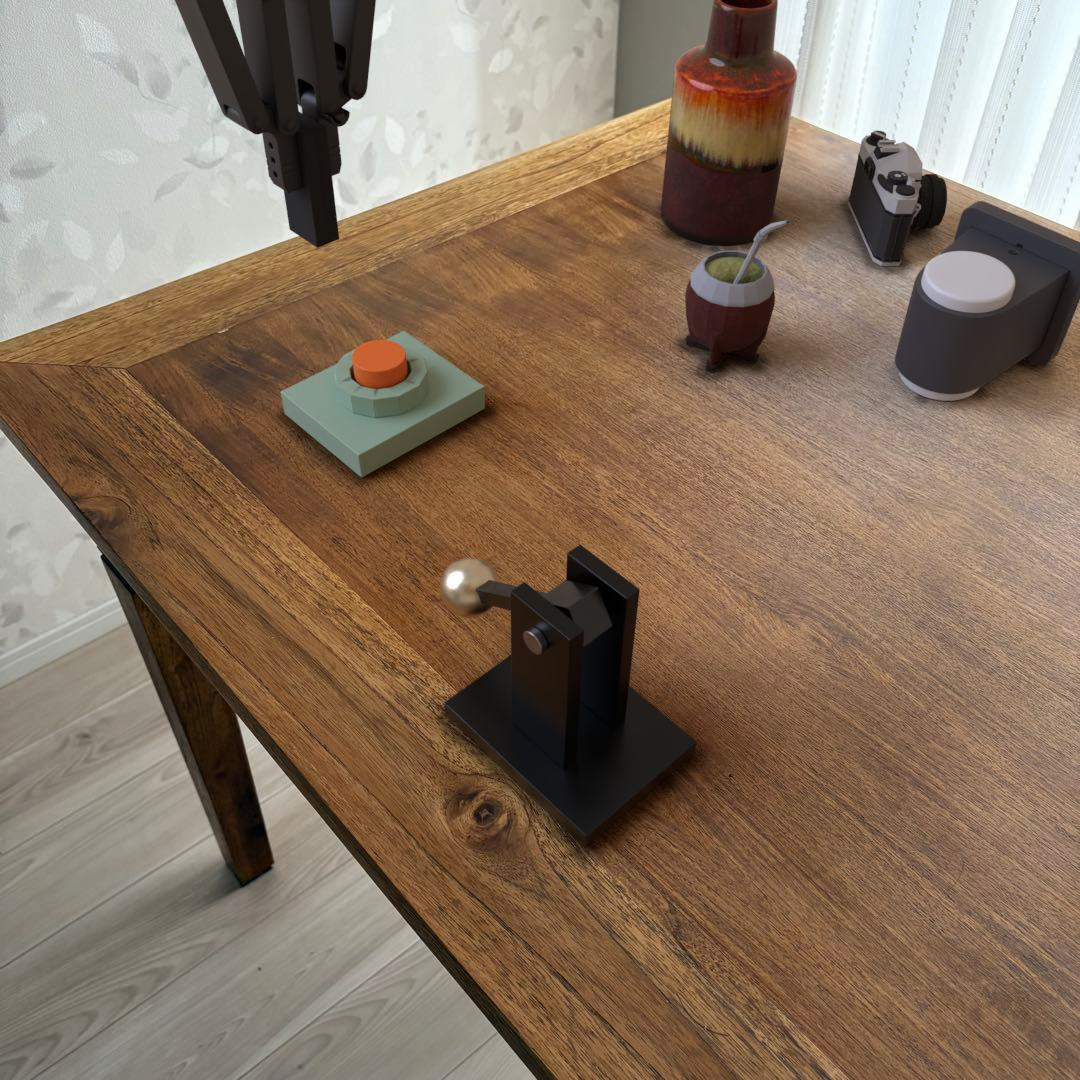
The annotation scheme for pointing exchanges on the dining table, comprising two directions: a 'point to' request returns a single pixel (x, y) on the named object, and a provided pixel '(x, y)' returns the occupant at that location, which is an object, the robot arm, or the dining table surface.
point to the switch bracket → (572, 709)
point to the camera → (893, 197)
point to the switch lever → (478, 590)
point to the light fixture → (988, 304)
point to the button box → (383, 407)
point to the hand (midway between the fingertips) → (314, 233)
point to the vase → (728, 127)
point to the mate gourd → (731, 303)
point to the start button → (379, 364)
